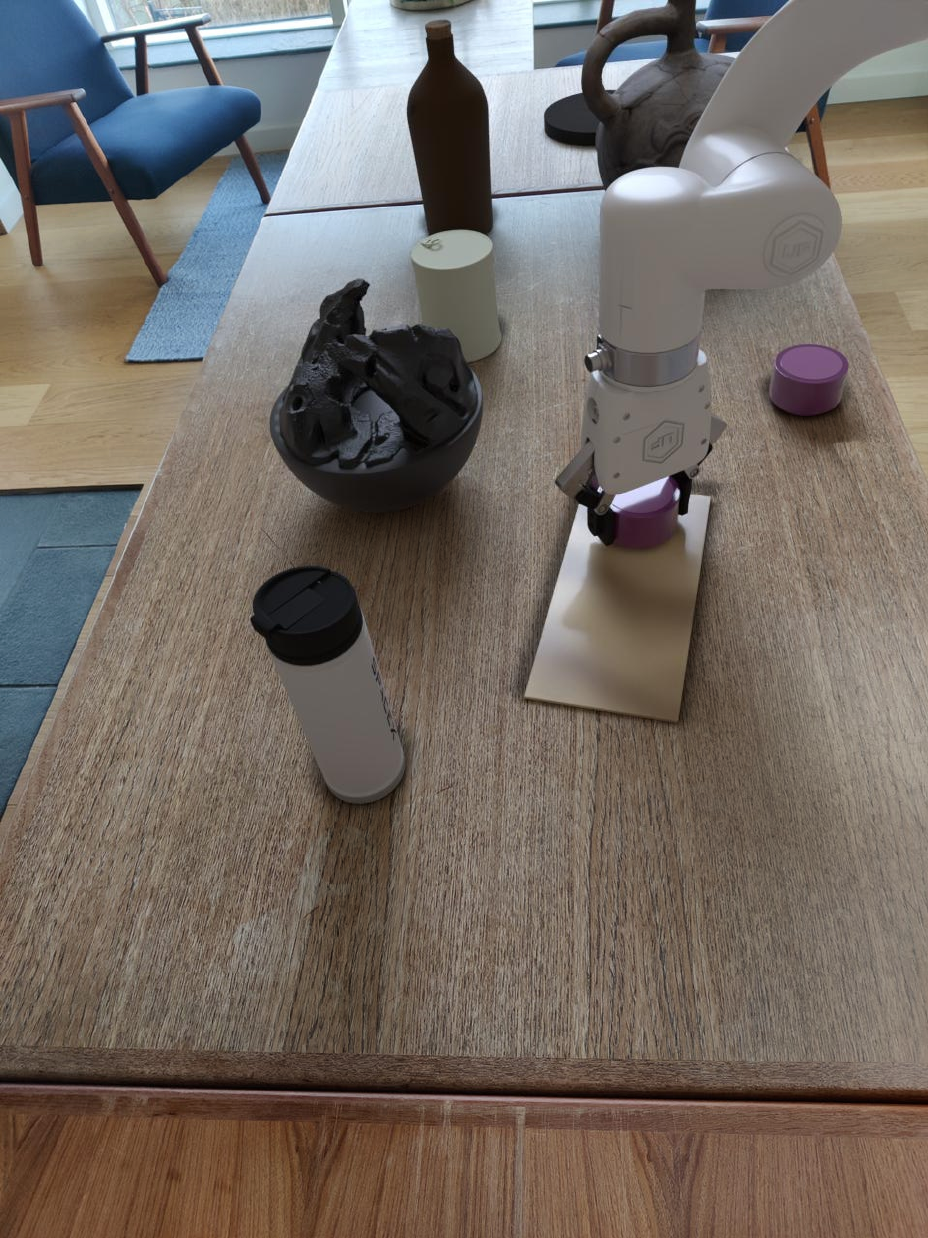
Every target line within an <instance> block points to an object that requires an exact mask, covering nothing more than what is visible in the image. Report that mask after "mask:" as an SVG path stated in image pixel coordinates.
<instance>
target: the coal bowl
mask: <svg viewBox="0 0 928 1238" xmlns="http://www.w3.org/2000/svg"><path fill="white" fill-rule="evenodd" d="M370 286H371V283H370V282H368V281H366V279H364V278H360V277H359V278H356V279H353V280H350V281H348V282H347V283H346V284H345V285H344V287H343V288H341V289H338V290H337V291H335V292H333V293H331V294H328V295H326V296H325V297H324V298H323V300H322V302H321V303H320V305H319V310H318V312H319V318H317V319H316V320H315V321H313V323H312V325H311V327H310V329H309V331H308V334H307V337H306V339H305V342H304V344H303V346H302V348H301V352H300V356H299V358H298V360H297V363H296V365H295V368H294V370H293V373H292V376H291V379H290V381H289V382H288V385H287V386H285V388H284V389H283V390H282V391H281V392H280V394H279V396H277V398H276V400H275V402H274V404H273V406H272V408H271V411H270V415H269V433H270V438H271V440H272V442H273V445H274V447H275V449H276V451H277V453H278V455H279V457H280V458H281V460H282V461H283V463H284V465H286V467H287V468H288V470H289V471H290V472H291V474H293V475H294V476H295V478H296V479H297V480H298V481H299V482H300V483H301V484H303V485H304V486H305V487H306V488H307V489H308V490H309V491H311V492H313V493H314V494H316V495H317V496H318V497H320V498H322V499H324V500H325V501H328V502H329V503H332V504H333V505H334V504H335V505H336V506H339V507H342V508H344V509H349V510H353V511H357V512H364V513H390V512H396V511H401V510H405V509H408V508H411V507H414V506H416V505H418V504H421V503H423V502H426V501H427V500H428V499H430V498H432V497H433V496H435V495H437V494H438V493H440V492H441V491H442V490H443V489H444V488H446V487H447V486H448V485H449V484H450V483H451V482H452V481H453V480H454V479H455V478H456V477H457V475H458V474H459V473H460V472H461V470H462V469H463V468H464V466H465V465H466V463H467V461H468V460H469V459H470V456H471V454H472V452H473V450H474V448H475V446H476V443H477V440H478V437H479V434H480V431H481V425H482V420H483V415H484V414H483V413H484V393H483V388H482V386H481V383H480V380H479V379H478V376H477V375H476V374H475V372H474V371H473V370H472V369H471V367H470V365H469V363H467V361H466V359H465V357H464V355H463V353H462V349H461V344H460V342H459V340H458V338H457V337H456V336H454V334H453V333H452V332H451V331H450V329H449V328H447V327H444V328H433V327H431V326H425V325H423V324H422V323H421V324H420V323H417V324H415V325H412V326H410V325H408V324H402V325H393V326H388V327H385V328H377V329H373V330H372V332H371V334H369V335H367V328H366V326H365V323H366V322H365V312H364V308H363V306H362V304H361V302H362V301H363V298H364V297H365V296H366V295H367V294H368V290H369V289H370V288H369V287H370Z"/></svg>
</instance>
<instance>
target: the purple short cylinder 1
mask: <svg viewBox="0 0 928 1238" xmlns="http://www.w3.org/2000/svg"><path fill="white" fill-rule="evenodd" d="M602 490H603V489H602V488H601V487H600V493H601V492H602ZM680 494H681V493H680V487H679V485H678V483H677V481H676V480H675V479H674V478H673V477H672V476H671V475H670V476H668V477H665V478H663V479H660V480H658V481H655V482H653V483H650V484H647V485H645V486H642V487H640V488H637V489H634V490H632V491H629V492H626V493H623V494H618V495H616V496H615V497H614V499H613V501H612V503H611V505H610V507H611V508H612V510H613V511H614V513H615V519H614V542H613V543H615V544H617V545H620V546H623V547H627V548H633V549H645V548H651V547H655V546H658V545H660V544H662V543H664V542H666V541H667V540H668V539H670V538H671V537H672V535H673V534H674V533H675V531H676V529H677V524H678V514H679V504H680Z"/></svg>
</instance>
